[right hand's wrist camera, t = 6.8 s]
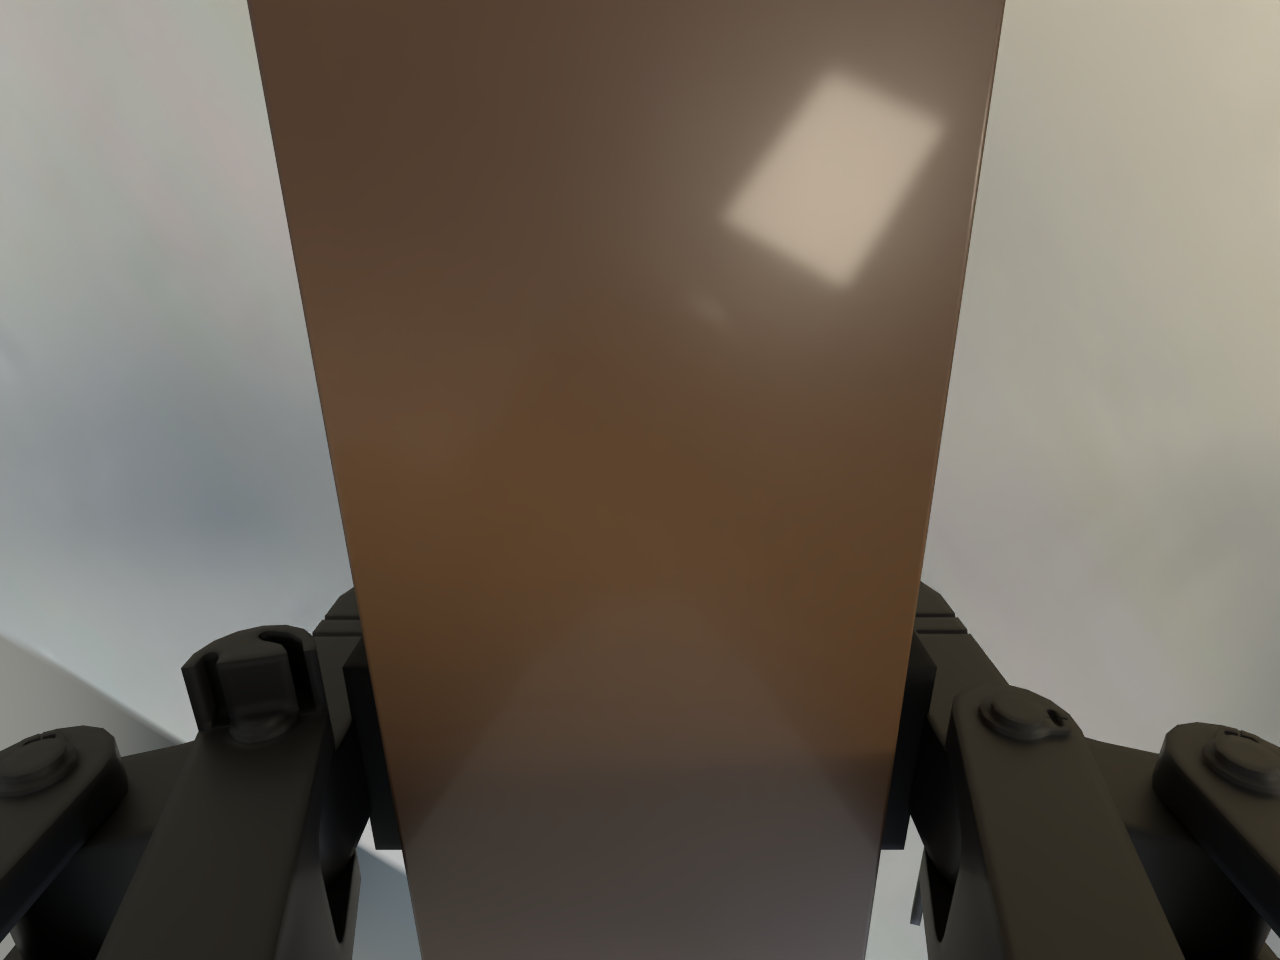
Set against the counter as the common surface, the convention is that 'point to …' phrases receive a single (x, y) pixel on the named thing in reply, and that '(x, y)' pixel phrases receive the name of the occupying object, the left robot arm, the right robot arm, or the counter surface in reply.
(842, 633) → the bar
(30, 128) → the counter surface
